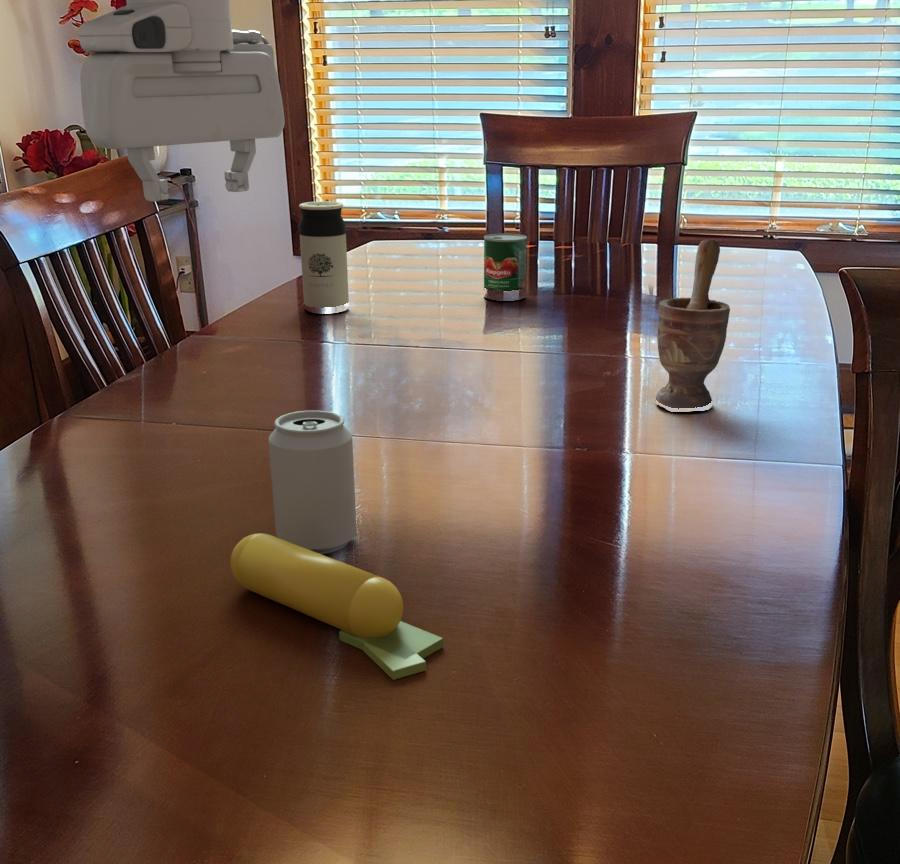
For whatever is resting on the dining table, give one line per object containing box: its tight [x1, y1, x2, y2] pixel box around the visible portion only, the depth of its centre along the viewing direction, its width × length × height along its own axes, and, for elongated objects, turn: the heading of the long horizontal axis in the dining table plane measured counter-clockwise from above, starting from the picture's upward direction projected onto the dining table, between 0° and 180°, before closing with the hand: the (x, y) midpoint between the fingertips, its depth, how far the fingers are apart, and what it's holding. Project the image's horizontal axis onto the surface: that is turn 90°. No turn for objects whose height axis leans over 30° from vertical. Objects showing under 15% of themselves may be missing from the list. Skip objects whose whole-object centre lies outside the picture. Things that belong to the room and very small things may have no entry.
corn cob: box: [230, 532, 444, 681], centre depth 86 cm, size 22×6×5 cm, turn 50°
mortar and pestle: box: [655, 238, 731, 409], centre depth 137 cm, size 12×9×20 cm
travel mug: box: [298, 201, 350, 308], centre depth 188 cm, size 8×8×18 cm
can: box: [268, 410, 357, 555], centre depth 99 cm, size 8×8×12 cm
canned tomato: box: [483, 233, 528, 291], centre depth 199 cm, size 8×8×11 cm
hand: (198, 195), depth 101 cm, fingers open, 8 cm apart
